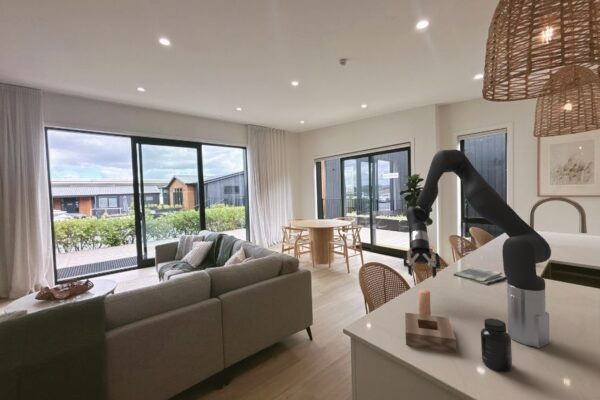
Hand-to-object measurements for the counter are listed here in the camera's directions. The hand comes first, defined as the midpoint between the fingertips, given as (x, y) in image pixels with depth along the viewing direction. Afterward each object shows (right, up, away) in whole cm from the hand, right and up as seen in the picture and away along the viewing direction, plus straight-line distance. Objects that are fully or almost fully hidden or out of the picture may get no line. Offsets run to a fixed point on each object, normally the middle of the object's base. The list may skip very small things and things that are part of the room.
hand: (422, 275), depth 109 cm
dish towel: (+45, -10, +31) cm, 56 cm away
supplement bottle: (+4, -14, -36) cm, 39 cm away
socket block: (-8, -14, -21) cm, 26 cm away
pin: (-3, -13, -8) cm, 16 cm away
